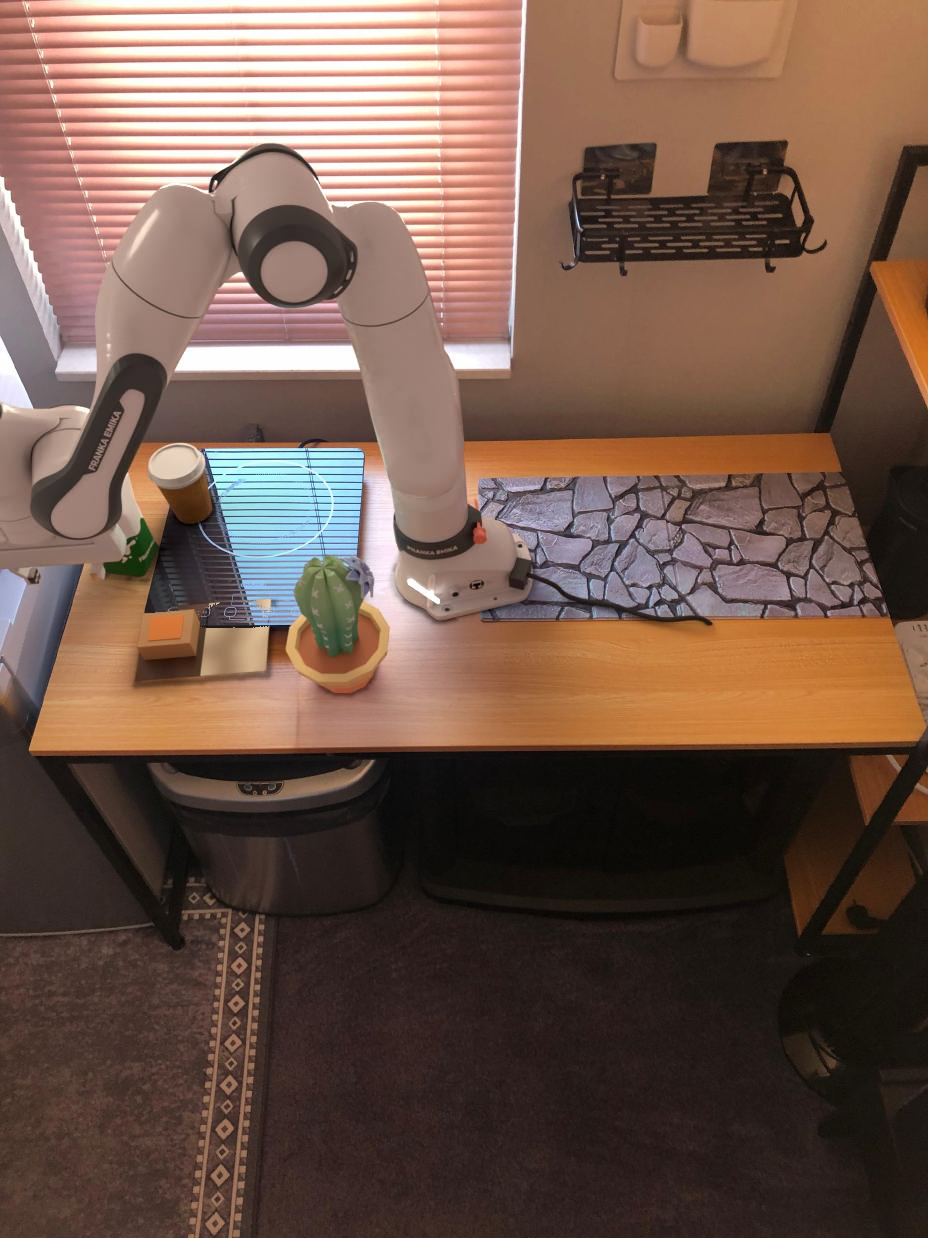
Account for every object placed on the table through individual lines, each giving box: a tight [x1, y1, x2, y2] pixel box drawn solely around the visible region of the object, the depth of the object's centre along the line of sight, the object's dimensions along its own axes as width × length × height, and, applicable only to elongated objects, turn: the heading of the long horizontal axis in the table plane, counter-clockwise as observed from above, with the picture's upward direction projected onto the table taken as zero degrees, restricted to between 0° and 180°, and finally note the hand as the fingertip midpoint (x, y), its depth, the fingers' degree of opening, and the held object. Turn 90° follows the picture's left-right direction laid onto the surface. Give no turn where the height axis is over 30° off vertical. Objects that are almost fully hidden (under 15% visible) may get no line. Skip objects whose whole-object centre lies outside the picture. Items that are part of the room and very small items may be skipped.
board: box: [134, 597, 272, 682], centre depth 148 cm, size 20×14×1 cm
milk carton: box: [103, 472, 160, 578], centre depth 151 cm, size 9×9×20 cm
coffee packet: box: [136, 609, 200, 660], centre depth 146 cm, size 8×6×4 cm
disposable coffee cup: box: [147, 442, 213, 525], centre depth 161 cm, size 10×10×12 cm
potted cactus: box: [285, 554, 391, 694], centre depth 134 cm, size 15×15×25 cm
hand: (67, 578), depth 134 cm, fingers open, 8 cm apart
